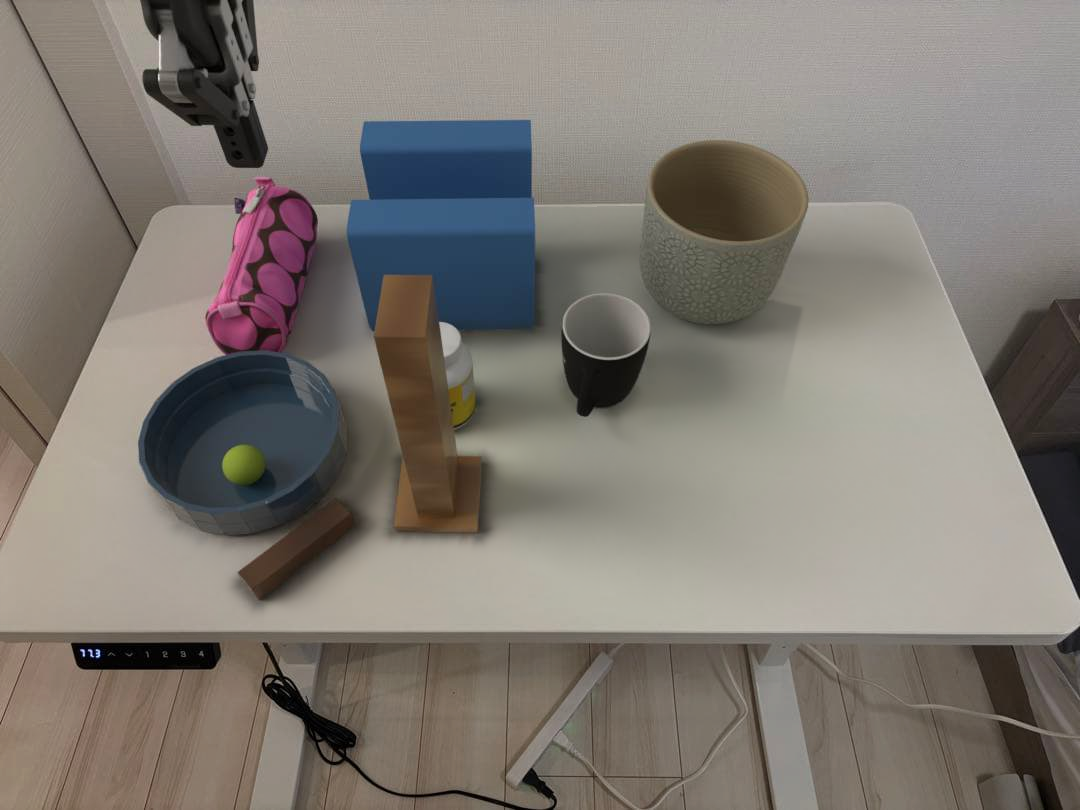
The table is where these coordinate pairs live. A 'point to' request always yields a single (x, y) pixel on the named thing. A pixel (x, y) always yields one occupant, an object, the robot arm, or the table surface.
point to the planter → (718, 229)
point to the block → (449, 218)
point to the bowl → (244, 441)
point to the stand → (423, 412)
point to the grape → (243, 464)
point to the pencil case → (264, 270)
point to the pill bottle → (458, 375)
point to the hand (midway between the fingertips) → (249, 160)
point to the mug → (603, 349)
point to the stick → (296, 548)
